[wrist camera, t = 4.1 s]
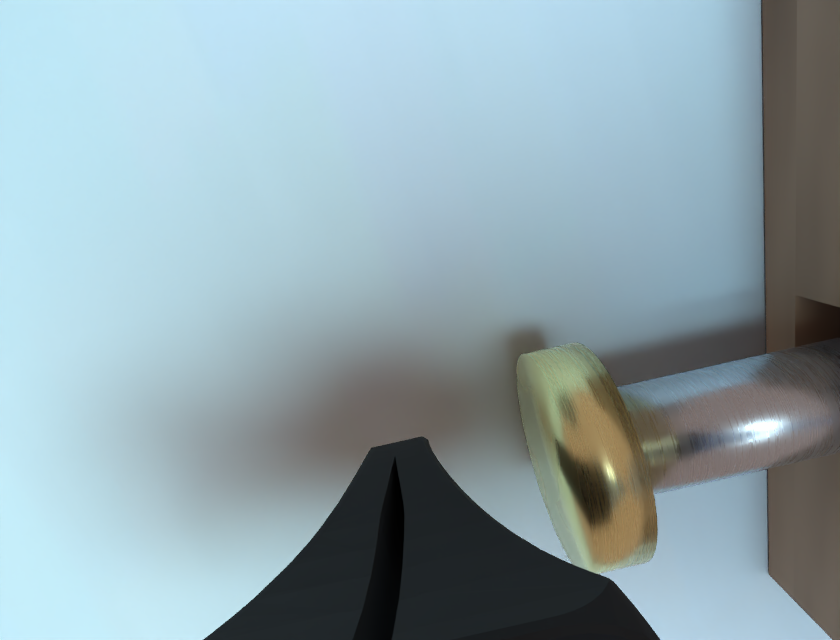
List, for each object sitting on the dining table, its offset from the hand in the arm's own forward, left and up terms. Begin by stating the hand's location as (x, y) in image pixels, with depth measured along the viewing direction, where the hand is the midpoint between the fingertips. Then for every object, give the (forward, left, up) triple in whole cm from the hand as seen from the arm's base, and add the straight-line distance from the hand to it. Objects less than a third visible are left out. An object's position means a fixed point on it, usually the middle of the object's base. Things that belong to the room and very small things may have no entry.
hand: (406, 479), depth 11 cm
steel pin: (-8, 0, -2) cm, 8 cm away
